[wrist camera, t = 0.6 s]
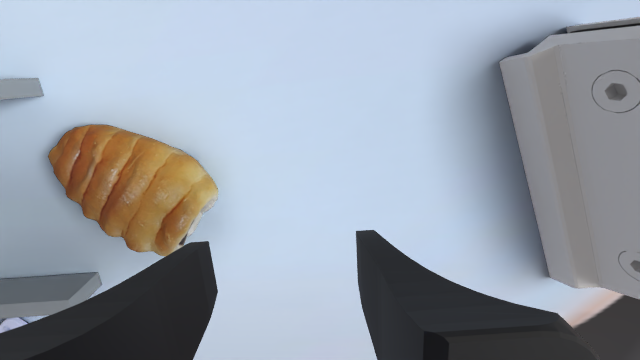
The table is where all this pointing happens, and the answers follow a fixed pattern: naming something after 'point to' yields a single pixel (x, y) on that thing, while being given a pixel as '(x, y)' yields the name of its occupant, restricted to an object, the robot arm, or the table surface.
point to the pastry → (134, 186)
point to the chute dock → (44, 290)
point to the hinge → (583, 150)
